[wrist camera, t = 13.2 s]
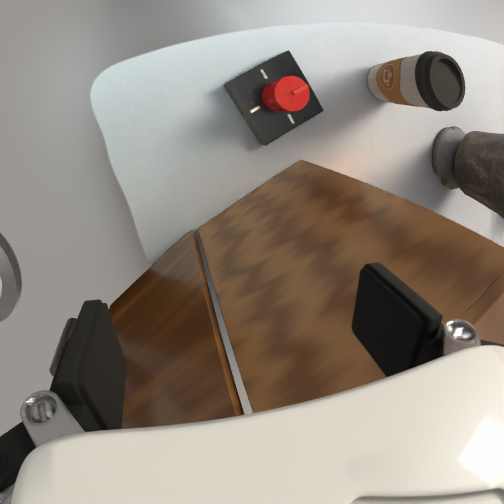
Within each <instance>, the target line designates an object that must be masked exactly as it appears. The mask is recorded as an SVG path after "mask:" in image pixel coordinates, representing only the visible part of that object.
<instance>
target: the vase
mask: <svg viewBox="0 0 504 504" xmlns="http://www.w3.org/2000/svg"><path fill="white" fill-rule="evenodd" d="M432 164H433V169H434V172H435V173H436V174H437V175H439V176H440V178H441V181H442V184H443V185H444V186H445V187H449V188H450V189H457V188H460V189H461V190H462V191H463V192H464V193H465V194H466V195H468V196H470V197H471V198H473V199H475V200H476V201H478V202H480V203H481V204H483V205H485V206H486V207H488V208H489V209H491V210H493V211H494V212H496V213H497V214H499V215H500V216H501V217H503V218H504V134H495V133H486V132H479V131H472V132H469V133H467V134H465V133H464V132H463V131H462V130H461V129H460V128H457V127H451V128H445V129H443V130H442V131H441V132H440V133H439V135H438V137H437V139H436V142H435V144H434V148H433V155H432Z"/></svg>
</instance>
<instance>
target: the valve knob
mask: <svg viewBox="0 0 504 504" xmlns="http://www.w3.org/2000/svg"><path fill="white" fill-rule="evenodd" d="M308 88H309V86H308V85H307V84H306V83H305V82H304V81H303V80H302V79H300V78H298V77H295V76H287V77H283V78H281V79H278V80H275V81H272V82H270V83H268V84H267V85H266V86H265V87H264V89H263V91H262V101H263V103H264V105H265V106H266V107H267V108H268V109H269V110H271V111H274V112H290V111H298V110H301V109H302V108H304V107H305V106H306V104H307V103H308V101H309V96H310V94H309V89H308Z"/></svg>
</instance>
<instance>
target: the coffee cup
mask: <svg viewBox="0 0 504 504" xmlns="http://www.w3.org/2000/svg"><path fill="white" fill-rule="evenodd" d="M367 82H368V87H369V89H370V91H371V93H372V94H373V95H374V96H375V97H376V98H377V99H379V100H381V101H383V102H391V103H395V104H403V105H410V106H417V107H419V106H420V107H427V108H432V109H434V110H436V111H448V110H451V109H453V108H456V107H457V106H459V105H460V104H461V102H462V101H463V98H464V95H465V81H464V76H463V73H462V71H461V68H460V67H459V65H458V63H457V62H456V61H455V60H454V59H453V58H452V57H450V56H449V55H446V54H443V53H441V52H432V51H429V52H425V53H423V54H420V55H416V56H411V57H404V58H400V59H396V60H392V61H388V62H386V63H383V64H379V65H376V66H374V67H373V68H372V69H371V70H370V72H369V74H368V78H367Z"/></svg>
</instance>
